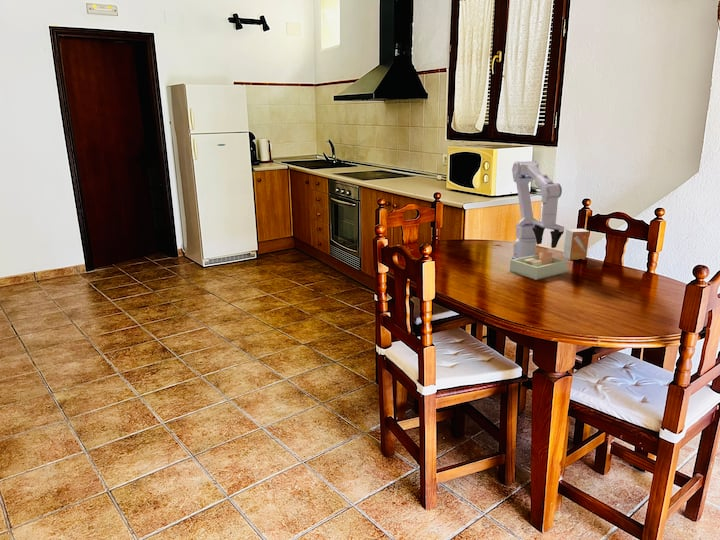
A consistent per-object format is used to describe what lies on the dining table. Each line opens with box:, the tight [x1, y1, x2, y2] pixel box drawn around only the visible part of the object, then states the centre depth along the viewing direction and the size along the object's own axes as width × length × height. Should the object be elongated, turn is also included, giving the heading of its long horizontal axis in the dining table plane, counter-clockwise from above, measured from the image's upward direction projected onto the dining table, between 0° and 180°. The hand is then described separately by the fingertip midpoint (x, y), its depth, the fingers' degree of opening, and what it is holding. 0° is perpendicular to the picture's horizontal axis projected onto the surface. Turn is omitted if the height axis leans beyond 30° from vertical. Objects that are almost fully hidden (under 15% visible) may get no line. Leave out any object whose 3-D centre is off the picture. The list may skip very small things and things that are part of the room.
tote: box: [509, 253, 568, 281], centre depth 224 cm, size 14×18×5 cm
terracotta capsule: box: [539, 251, 553, 266], centre depth 226 cm, size 5×5×7 cm
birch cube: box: [524, 258, 542, 267], centre depth 222 cm, size 5×5×5 cm
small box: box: [562, 228, 590, 261], centre depth 244 cm, size 8×6×13 cm
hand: (546, 245), depth 225 cm, fingers open, 7 cm apart
